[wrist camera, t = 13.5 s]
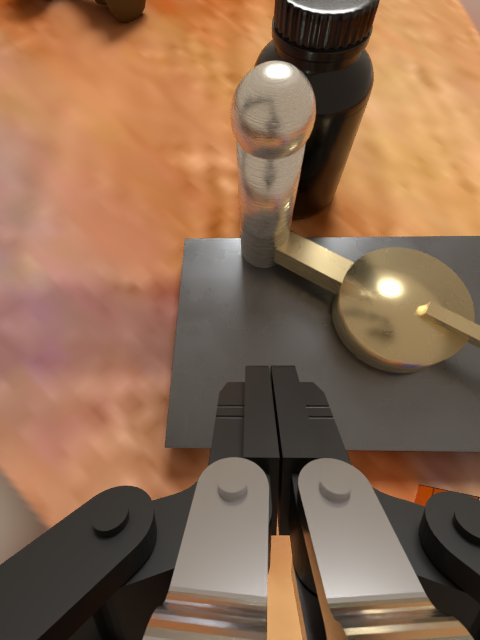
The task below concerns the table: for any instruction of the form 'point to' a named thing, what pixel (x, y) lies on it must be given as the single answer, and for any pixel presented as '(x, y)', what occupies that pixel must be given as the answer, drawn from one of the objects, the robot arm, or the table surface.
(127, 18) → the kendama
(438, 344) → the crank handle
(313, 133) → the supplement bottle
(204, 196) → the table surface
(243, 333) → the stand base
